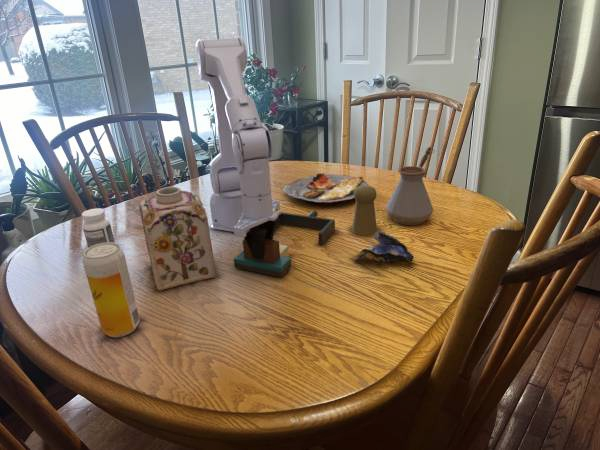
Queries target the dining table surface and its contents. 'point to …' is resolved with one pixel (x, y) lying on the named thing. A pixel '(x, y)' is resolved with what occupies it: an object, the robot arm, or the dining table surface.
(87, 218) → the pill bottle
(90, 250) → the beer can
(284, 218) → the dark grey u-shaped frame
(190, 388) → the dining table surface
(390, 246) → the snack package
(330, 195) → the food plate
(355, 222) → the olive pepper shaker
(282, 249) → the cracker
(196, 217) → the decorative jar
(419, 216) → the coffee pot
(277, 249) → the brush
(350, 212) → the dining table surface
